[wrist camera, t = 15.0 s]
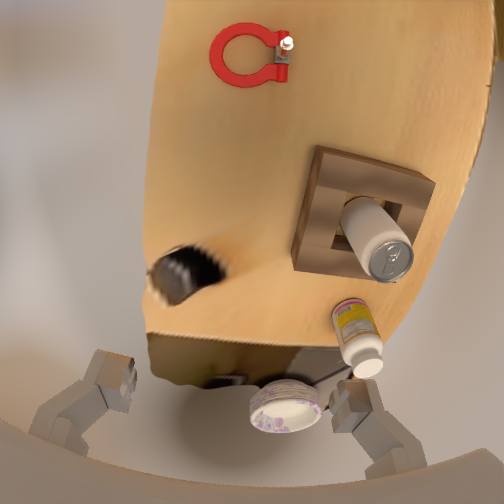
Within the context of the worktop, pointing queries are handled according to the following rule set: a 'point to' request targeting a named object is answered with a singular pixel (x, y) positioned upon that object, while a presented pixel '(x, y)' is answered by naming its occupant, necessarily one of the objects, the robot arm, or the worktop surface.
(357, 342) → the supplement bottle
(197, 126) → the worktop surface
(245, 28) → the tow hook
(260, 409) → the paper bowls
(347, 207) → the can
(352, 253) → the holder
